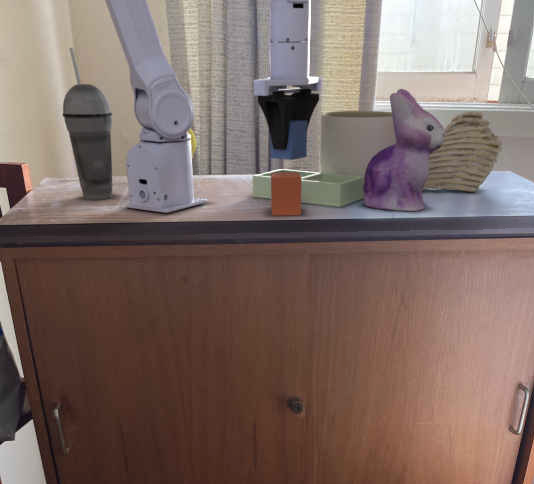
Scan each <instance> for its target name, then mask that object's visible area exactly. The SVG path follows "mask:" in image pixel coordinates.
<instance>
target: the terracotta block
mask: <svg viewBox="0 0 534 484" xmlns="http://www.w3.org/2000/svg"><path fill="white" fill-rule="evenodd" d="M301 180H302V177H301V175H300V173H299V172H277V173H271V199H270V212H271V215H272V216H275V217H276V216H302V202H301Z"/></svg>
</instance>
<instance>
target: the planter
mask: <svg viewBox="0 0 534 484" xmlns="http://www.w3.org/2000/svg"><path fill="white" fill-rule="evenodd" d="M319 130H320V133H319V136H320V137H319V139H320V140H319V165H320V171H321V172H320V173H330V174H341V175H351V176H360V177H361V176H362V177H365V172H366V168H367V166H368V164H369V162H370V160H371V159H372V157H373V156H374V155H376V154H377V153H378V152H380V151H381V150H383V149H385V148H387V147H389V146H391V145H394V144H395V143H396V138H395V131H394V124H393V117H392V111H382V110H381V111H380V110H340V111H339V110H338V111H327V112H323V113H320V129H319Z"/></svg>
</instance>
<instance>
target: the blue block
mask: <svg viewBox="0 0 534 484" xmlns="http://www.w3.org/2000/svg"><path fill="white" fill-rule="evenodd" d="M307 141H308V129H307V121H301V120H290V124H289V136H288V143H287V148H286V149H285V150H281V149H273V145H272V140H271V139H270V159H278V160H288V161H293V160H299V159H303V158H307V155H308V154H307V152H308V151H307V150H308V145H307V144H308V142H307Z"/></svg>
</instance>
